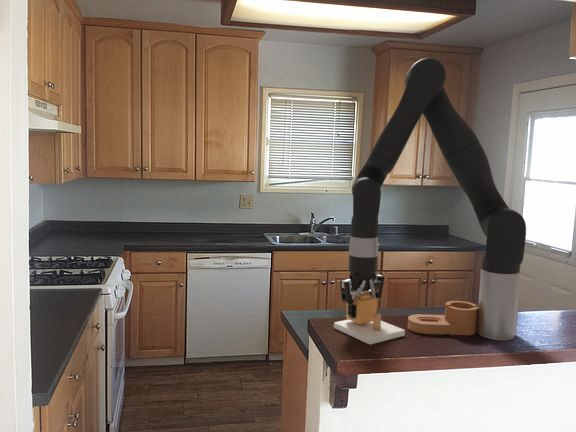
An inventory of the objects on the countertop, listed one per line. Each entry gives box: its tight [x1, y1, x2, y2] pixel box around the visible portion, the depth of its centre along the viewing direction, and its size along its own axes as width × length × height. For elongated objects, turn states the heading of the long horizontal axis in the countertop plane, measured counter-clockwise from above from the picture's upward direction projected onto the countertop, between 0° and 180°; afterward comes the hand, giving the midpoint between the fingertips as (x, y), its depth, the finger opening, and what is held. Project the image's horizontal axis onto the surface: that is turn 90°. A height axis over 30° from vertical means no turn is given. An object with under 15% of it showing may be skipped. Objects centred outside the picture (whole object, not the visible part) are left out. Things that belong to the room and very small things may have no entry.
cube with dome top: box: [345, 291, 378, 324], centre depth 137 cm, size 6×6×7 cm
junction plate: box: [333, 312, 406, 345], centre depth 135 cm, size 12×14×6 cm
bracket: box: [407, 300, 478, 336], centre depth 138 cm, size 18×8×7 cm, turn 87°
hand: (361, 315), depth 137 cm, fingers closed on cube with dome top, 5 cm apart
